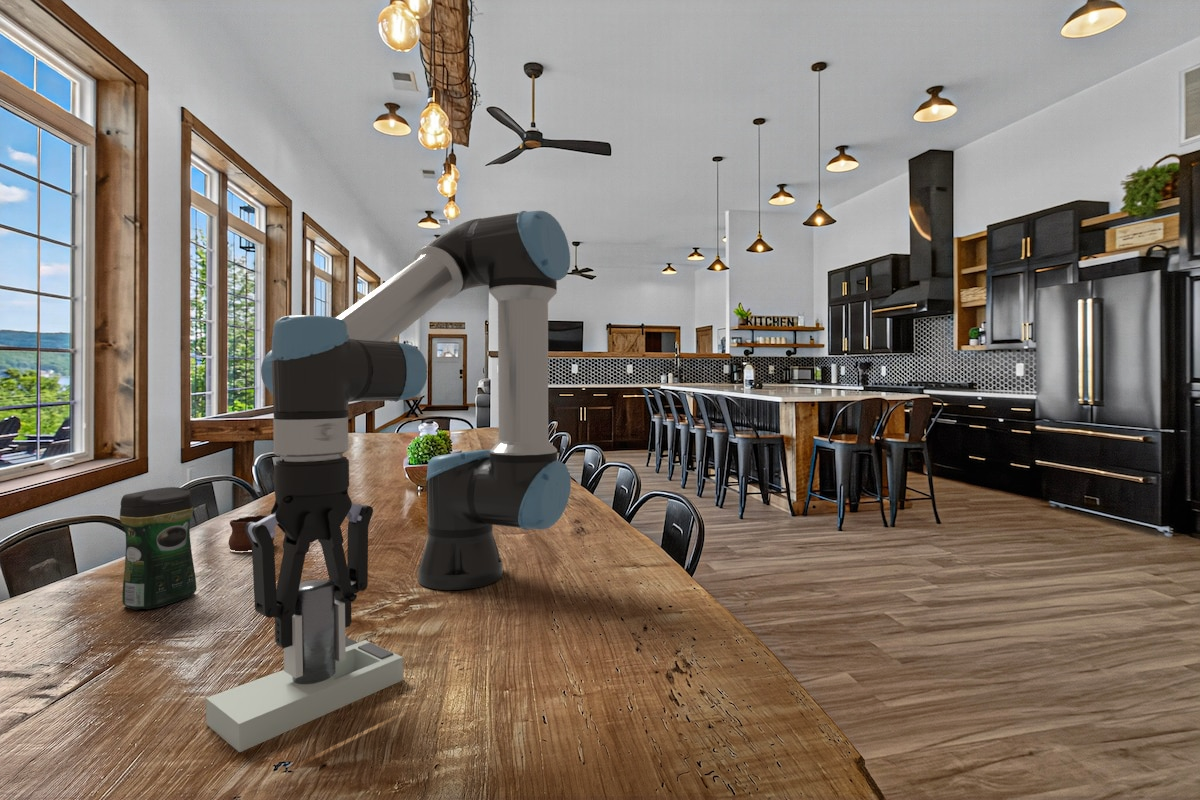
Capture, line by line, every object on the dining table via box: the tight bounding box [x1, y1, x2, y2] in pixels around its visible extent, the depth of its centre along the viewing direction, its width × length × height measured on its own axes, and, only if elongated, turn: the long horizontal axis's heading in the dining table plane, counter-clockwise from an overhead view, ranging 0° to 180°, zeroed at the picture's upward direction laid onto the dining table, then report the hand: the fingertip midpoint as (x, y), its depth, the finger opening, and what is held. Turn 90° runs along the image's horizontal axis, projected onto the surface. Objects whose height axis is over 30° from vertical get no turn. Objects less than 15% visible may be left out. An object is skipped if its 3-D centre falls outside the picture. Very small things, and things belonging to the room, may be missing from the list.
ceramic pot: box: [228, 514, 275, 551], centre depth 133 cm, size 18×18×7 cm
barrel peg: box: [292, 578, 336, 684], centre depth 68 cm, size 4×4×10 cm
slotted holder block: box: [205, 639, 404, 753], centre depth 68 cm, size 8×18×3 cm, turn 142°
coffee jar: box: [119, 486, 197, 611], centre depth 100 cm, size 10×8×19 cm
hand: (315, 664), depth 68 cm, fingers open, 4 cm apart
